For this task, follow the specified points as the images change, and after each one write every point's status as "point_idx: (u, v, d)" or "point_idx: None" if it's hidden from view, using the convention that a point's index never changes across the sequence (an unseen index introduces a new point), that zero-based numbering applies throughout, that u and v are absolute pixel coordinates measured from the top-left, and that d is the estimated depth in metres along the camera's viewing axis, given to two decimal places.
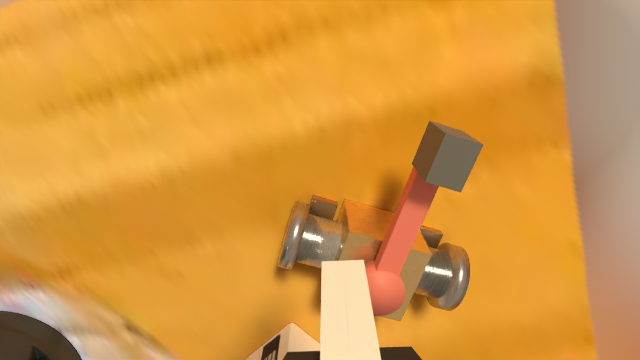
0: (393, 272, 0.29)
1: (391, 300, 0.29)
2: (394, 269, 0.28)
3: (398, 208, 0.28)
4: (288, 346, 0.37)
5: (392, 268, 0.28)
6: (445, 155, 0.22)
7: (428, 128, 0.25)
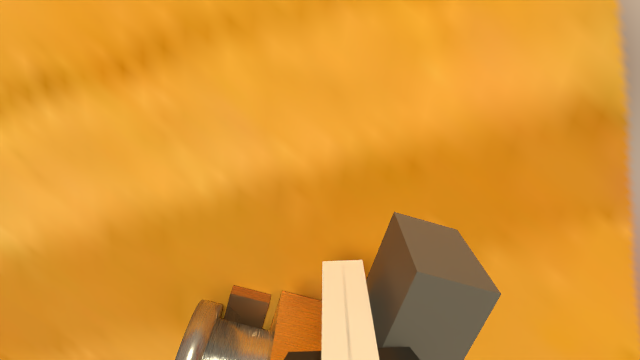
0: None
1: None
2: None
3: None
4: None
5: None
6: (417, 312, 0.10)
7: (391, 228, 0.13)
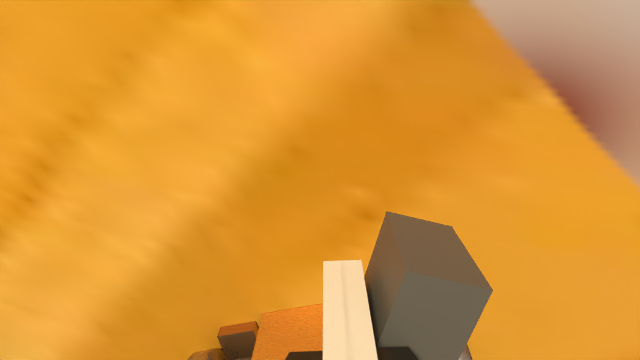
0: None
1: None
2: None
3: None
4: None
5: None
6: (410, 311, 0.10)
7: (384, 228, 0.13)
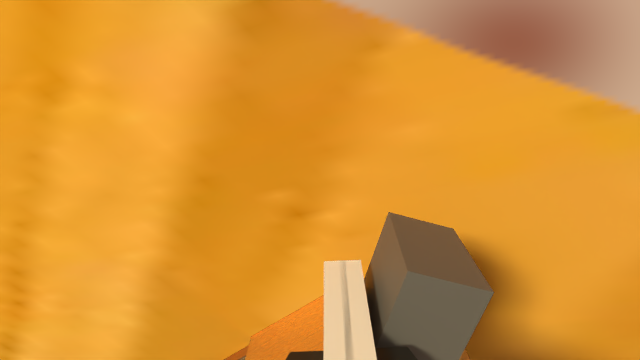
0: None
1: None
2: None
3: None
4: None
5: None
6: (410, 312, 0.10)
7: (386, 228, 0.13)
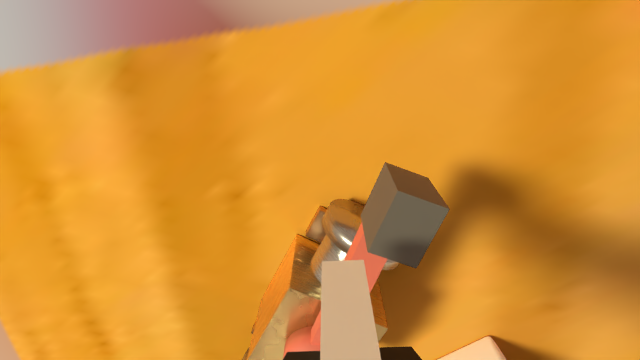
0: None
1: None
2: None
3: None
4: None
5: None
6: (396, 219, 0.16)
7: (382, 173, 0.19)
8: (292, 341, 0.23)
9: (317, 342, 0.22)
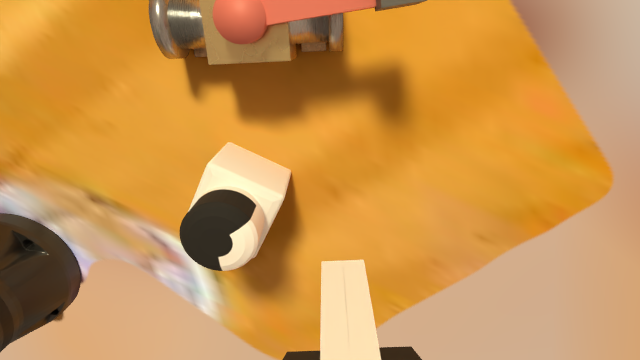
0: (267, 17, 0.29)
1: (239, 31, 0.29)
2: (270, 17, 0.29)
3: None
4: (219, 151, 0.38)
5: (270, 14, 0.29)
6: None
7: None
8: None
9: (264, 3, 0.28)
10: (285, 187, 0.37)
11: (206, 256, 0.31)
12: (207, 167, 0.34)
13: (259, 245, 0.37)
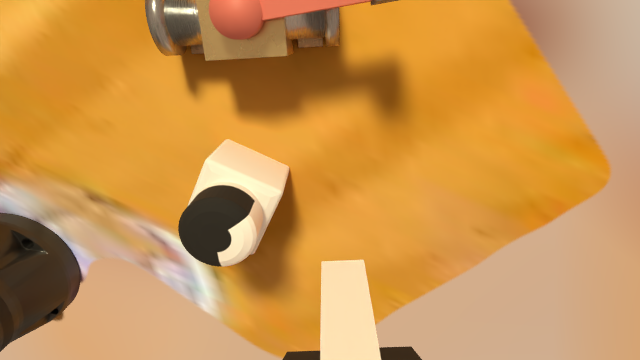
0: (263, 12, 0.29)
1: (235, 26, 0.29)
2: (266, 12, 0.29)
3: None
4: None
5: (266, 9, 0.29)
6: None
7: None
8: None
9: None
10: (284, 183, 0.37)
11: (205, 252, 0.31)
12: (205, 163, 0.34)
13: (258, 241, 0.37)
